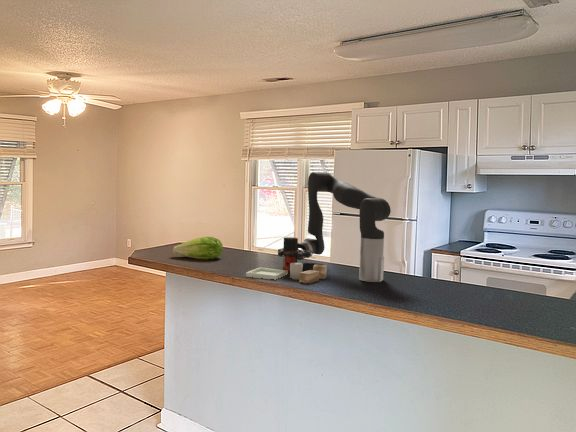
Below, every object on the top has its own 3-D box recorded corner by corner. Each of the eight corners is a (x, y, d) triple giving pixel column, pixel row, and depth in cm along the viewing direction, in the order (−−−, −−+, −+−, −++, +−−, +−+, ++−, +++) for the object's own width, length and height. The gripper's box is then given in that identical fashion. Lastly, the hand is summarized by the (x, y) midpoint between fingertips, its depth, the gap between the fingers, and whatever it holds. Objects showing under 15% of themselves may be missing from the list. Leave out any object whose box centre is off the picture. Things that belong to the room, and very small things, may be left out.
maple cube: (326, 276, 201) (326, 264, 200) (325, 279, 196) (325, 266, 196) (314, 276, 202) (314, 264, 201) (312, 278, 197) (313, 266, 196)
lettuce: (177, 244, 247) (171, 232, 236) (225, 243, 246) (221, 230, 235) (174, 265, 240) (168, 254, 230) (223, 264, 239) (219, 252, 229)
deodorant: (279, 272, 206) (280, 237, 205) (289, 271, 210) (290, 237, 209) (289, 275, 201) (290, 239, 200) (299, 273, 206) (300, 238, 205)
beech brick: (318, 281, 192) (319, 271, 192) (307, 284, 185) (308, 273, 185) (310, 279, 194) (310, 269, 194) (299, 282, 188) (299, 272, 187)
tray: (287, 274, 202) (287, 270, 202) (275, 280, 190) (275, 275, 190) (259, 271, 207) (259, 267, 207) (246, 276, 195) (246, 272, 195)
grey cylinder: (304, 277, 196) (304, 263, 196) (299, 279, 192) (299, 264, 192) (293, 276, 199) (293, 262, 198) (287, 278, 194) (288, 263, 194)
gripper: (287, 241, 221) (273, 244, 206) (317, 243, 216) (305, 247, 201) (287, 257, 222) (273, 262, 207) (316, 260, 216) (304, 265, 201)
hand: (289, 254), depth 204 cm, fingers open, 8 cm apart
